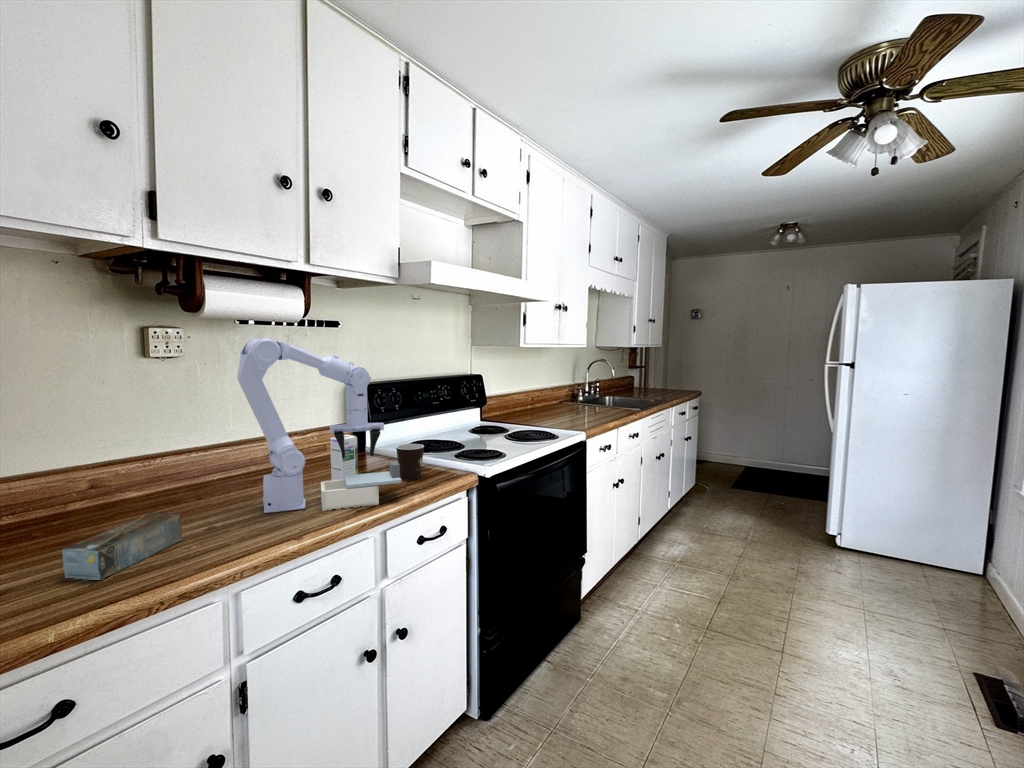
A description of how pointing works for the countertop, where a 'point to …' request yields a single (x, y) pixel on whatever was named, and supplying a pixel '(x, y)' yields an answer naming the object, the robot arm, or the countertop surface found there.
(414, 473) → the coffee mug
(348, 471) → the syrup box
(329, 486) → the carton
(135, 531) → the beverage carton
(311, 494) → the countertop surface
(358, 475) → the carton lid
